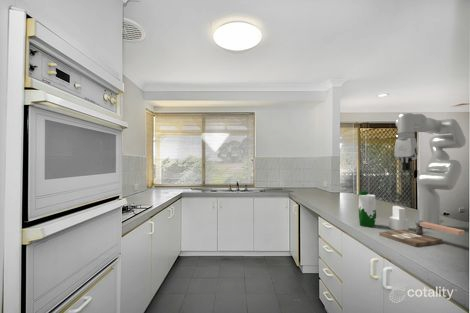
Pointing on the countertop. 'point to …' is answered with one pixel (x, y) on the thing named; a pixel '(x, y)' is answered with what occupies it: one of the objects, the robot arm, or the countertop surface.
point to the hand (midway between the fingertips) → (406, 170)
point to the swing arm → (440, 227)
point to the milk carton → (367, 209)
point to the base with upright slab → (398, 219)
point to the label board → (411, 237)
